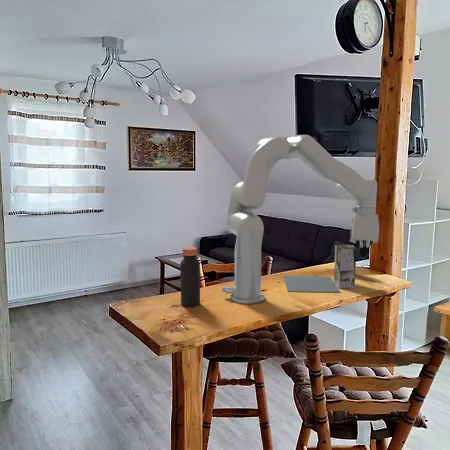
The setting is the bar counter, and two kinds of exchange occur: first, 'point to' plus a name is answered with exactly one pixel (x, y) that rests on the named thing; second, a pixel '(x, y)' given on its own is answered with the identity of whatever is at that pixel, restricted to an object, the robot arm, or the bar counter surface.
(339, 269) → the coffee box
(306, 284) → the mat
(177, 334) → the bar counter surface
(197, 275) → the black water bottle
